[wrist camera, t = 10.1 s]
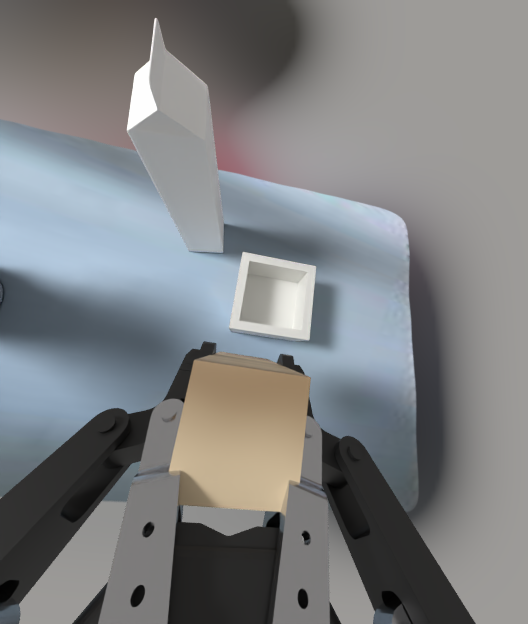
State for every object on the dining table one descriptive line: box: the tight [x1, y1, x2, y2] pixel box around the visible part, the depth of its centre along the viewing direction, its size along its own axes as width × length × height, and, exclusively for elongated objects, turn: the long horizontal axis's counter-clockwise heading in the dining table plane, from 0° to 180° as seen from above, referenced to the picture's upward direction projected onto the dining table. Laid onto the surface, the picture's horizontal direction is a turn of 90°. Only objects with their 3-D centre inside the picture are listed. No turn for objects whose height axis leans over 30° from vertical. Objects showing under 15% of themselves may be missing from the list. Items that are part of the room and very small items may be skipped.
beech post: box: [169, 352, 311, 512], centre depth 11 cm, size 4×4×10 cm
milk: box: [127, 18, 224, 253], centre depth 23 cm, size 6×6×22 cm
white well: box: [229, 252, 316, 341], centre depth 30 cm, size 11×11×6 cm
